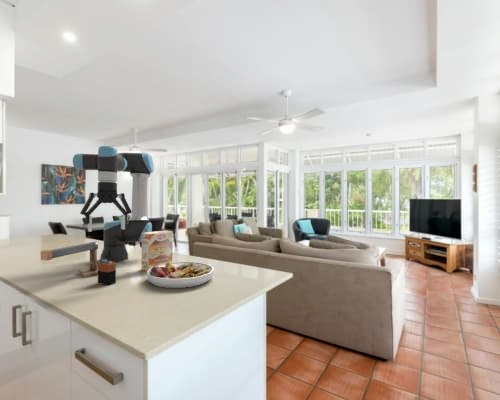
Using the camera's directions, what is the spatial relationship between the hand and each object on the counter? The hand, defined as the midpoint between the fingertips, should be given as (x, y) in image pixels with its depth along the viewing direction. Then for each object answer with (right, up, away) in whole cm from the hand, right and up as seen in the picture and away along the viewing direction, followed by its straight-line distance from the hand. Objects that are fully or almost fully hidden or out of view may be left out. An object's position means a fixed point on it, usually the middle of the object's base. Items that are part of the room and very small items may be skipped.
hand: (107, 230), depth 122 cm
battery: (0, -24, +1) cm, 24 cm away
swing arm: (-17, -11, +4) cm, 21 cm away
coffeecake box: (+13, -23, +27) cm, 38 cm away
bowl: (+31, -24, +8) cm, 40 cm away
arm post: (-14, -23, +15) cm, 31 cm away
